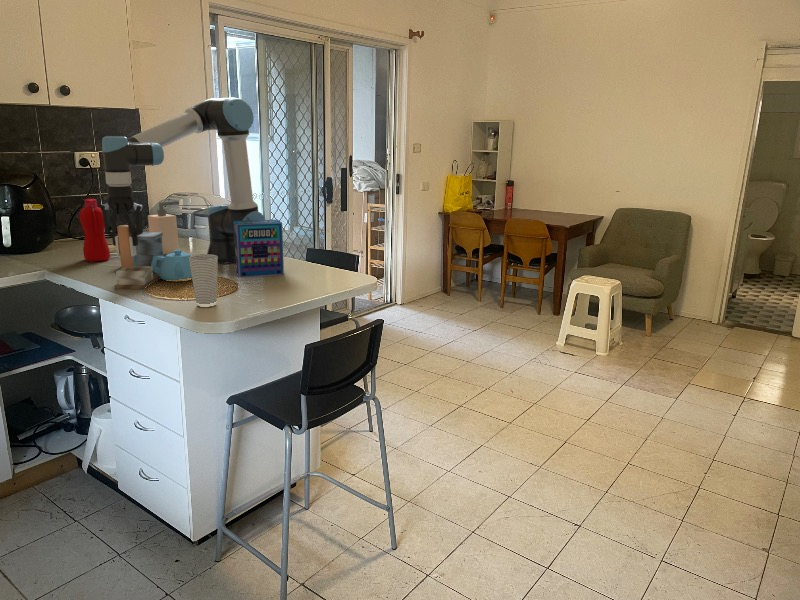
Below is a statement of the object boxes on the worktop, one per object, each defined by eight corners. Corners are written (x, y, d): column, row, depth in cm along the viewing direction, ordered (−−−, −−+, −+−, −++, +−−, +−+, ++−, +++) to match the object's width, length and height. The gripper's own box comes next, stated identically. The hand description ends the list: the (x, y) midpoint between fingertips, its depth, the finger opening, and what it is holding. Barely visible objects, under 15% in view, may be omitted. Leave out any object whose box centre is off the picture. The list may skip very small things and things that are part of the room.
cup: (208, 310, 181) (205, 260, 177) (186, 307, 184) (182, 258, 180) (226, 303, 189) (223, 255, 185) (204, 300, 192) (201, 253, 188)
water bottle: (88, 263, 238) (80, 201, 232) (83, 259, 247) (75, 198, 240) (113, 261, 244) (106, 200, 237) (107, 256, 252) (100, 197, 245)
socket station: (166, 275, 223) (162, 232, 218) (145, 289, 203) (141, 242, 199) (136, 275, 222) (132, 232, 218) (113, 288, 203) (107, 241, 199)
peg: (136, 265, 204) (132, 225, 200) (131, 268, 200) (127, 227, 196) (124, 265, 204) (120, 225, 200) (119, 268, 200) (114, 226, 196)
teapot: (179, 272, 229) (177, 244, 226) (210, 276, 223) (208, 248, 220) (148, 280, 215) (145, 251, 212) (180, 285, 210) (178, 255, 207)
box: (279, 269, 236) (277, 219, 230) (283, 274, 228) (282, 222, 222) (236, 272, 230) (233, 220, 224) (239, 277, 222) (236, 224, 216)
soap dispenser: (161, 254, 259) (157, 203, 252) (150, 252, 264) (146, 202, 257) (187, 250, 268) (183, 201, 262) (176, 248, 273) (172, 200, 267)
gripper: (149, 184, 198) (156, 253, 205) (98, 183, 198) (106, 252, 204) (141, 186, 191) (148, 257, 197) (87, 185, 191) (96, 257, 197)
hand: (126, 255), depth 201 cm, fingers closed on peg, 4 cm apart
